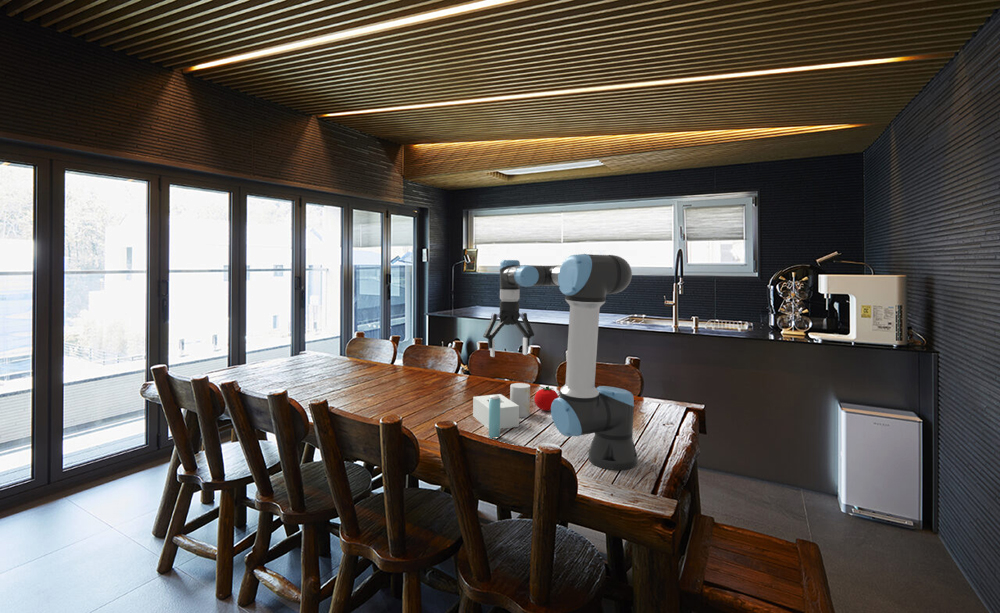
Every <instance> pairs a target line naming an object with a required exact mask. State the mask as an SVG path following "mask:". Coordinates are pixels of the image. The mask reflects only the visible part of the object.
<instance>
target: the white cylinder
mask: <svg viewBox="0 0 1000 613" xmlns="http://www.w3.org/2000/svg"><path fill="white" fill-rule="evenodd" d="M509 387H510V389H509V391H510V392H509V395H510V396H509V400H511V401H512V402H514V403H515V404H517V405H519V418H527V417H529V416H530V414H531V413H530V412H531V410H530V408H531V406H530V404H531V385H530V384H529V383H525V382H524V383H523V382H516V383H511V384H510V386H509Z"/></svg>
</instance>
